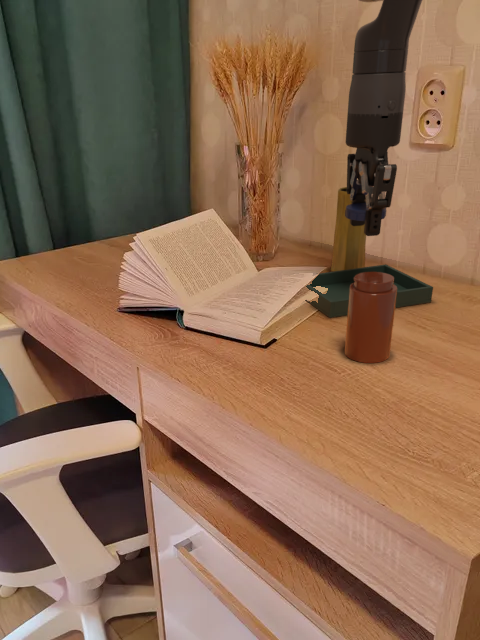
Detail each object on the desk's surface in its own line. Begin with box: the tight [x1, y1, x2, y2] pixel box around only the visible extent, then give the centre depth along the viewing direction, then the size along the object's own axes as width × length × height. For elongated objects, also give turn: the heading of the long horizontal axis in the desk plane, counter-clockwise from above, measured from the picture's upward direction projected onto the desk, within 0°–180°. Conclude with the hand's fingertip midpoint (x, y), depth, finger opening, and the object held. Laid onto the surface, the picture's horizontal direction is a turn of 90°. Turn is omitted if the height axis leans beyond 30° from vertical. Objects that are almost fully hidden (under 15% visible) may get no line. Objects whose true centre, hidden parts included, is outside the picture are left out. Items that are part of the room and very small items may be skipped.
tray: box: [306, 263, 434, 319], centre depth 95 cm, size 17×13×2 cm
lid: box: [345, 203, 387, 221], centre depth 90 cm, size 6×6×2 cm
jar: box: [344, 272, 397, 364], centre depth 75 cm, size 6×6×10 cm
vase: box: [330, 186, 367, 272], centre depth 105 cm, size 6×6×14 cm
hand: (364, 229), depth 91 cm, fingers closed on lid, 5 cm apart
